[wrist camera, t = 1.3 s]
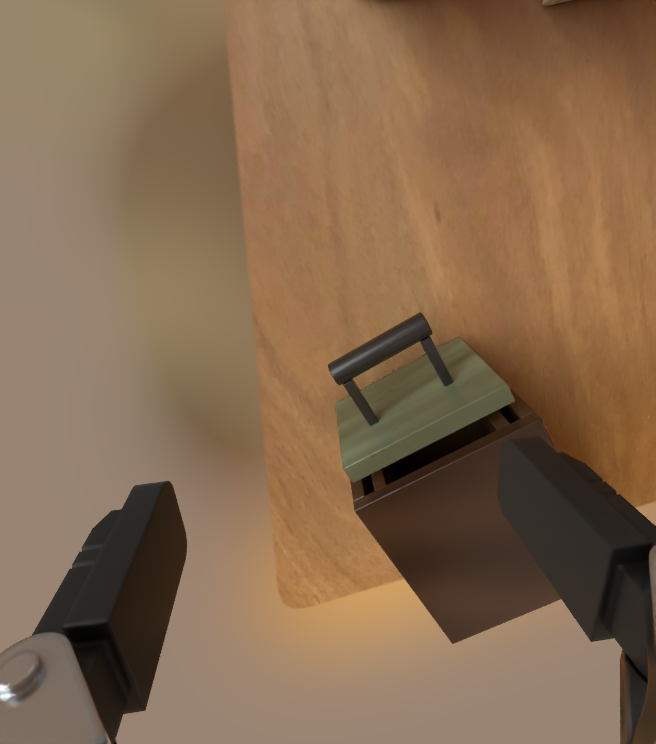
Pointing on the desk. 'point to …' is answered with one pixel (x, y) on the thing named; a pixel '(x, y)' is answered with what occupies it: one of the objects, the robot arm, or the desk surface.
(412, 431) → the drawer
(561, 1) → the box
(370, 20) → the desk surface
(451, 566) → the cabinet
